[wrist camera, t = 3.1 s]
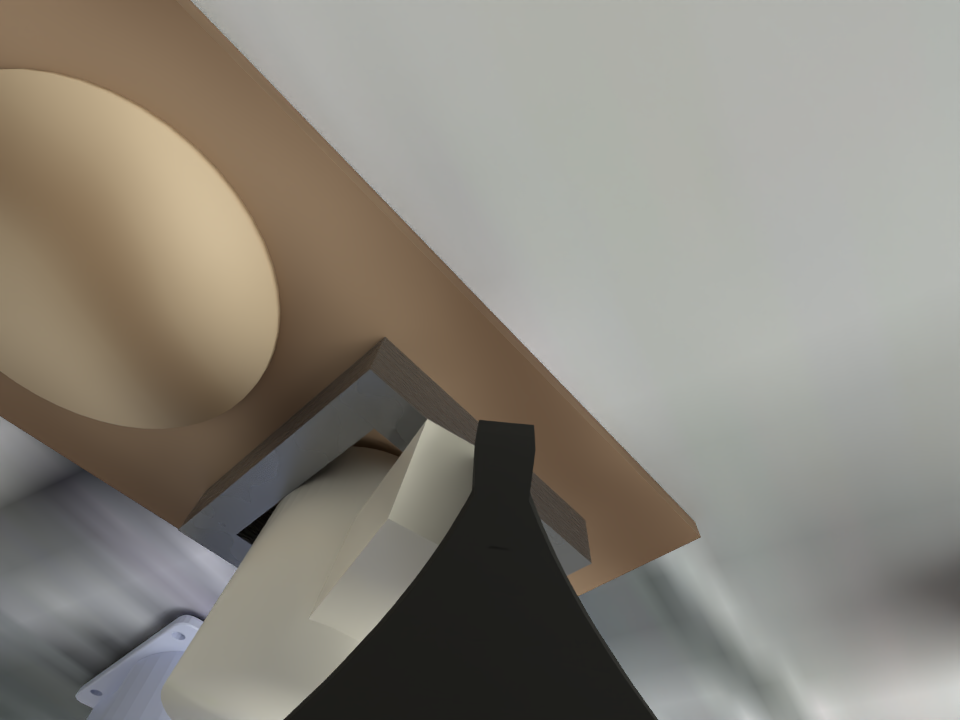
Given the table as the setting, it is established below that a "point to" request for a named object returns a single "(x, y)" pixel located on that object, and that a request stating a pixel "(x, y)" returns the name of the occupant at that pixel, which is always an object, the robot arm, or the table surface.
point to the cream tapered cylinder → (321, 578)
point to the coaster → (124, 261)
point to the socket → (336, 427)
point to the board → (315, 289)
